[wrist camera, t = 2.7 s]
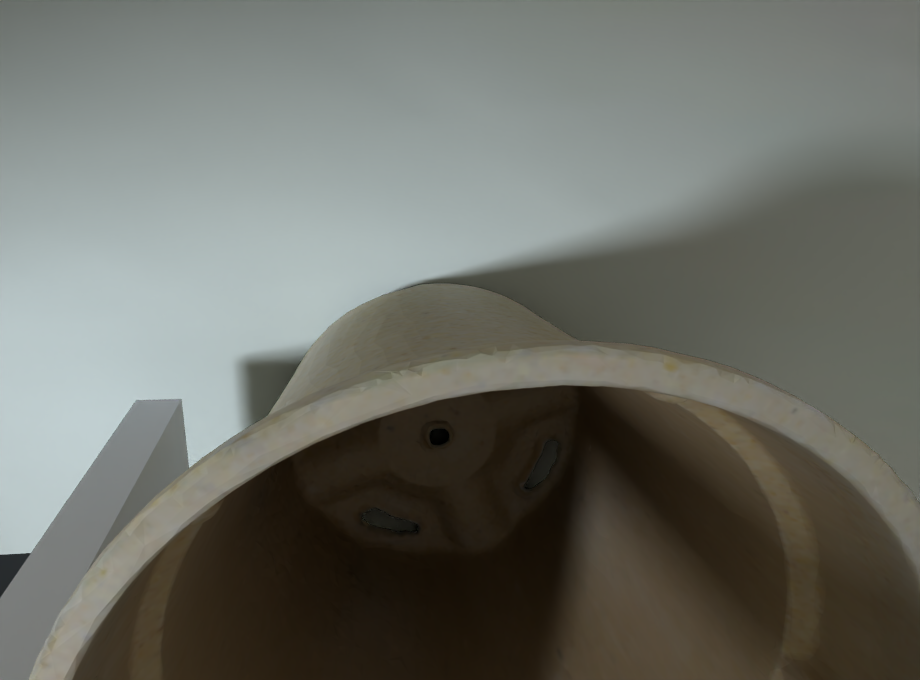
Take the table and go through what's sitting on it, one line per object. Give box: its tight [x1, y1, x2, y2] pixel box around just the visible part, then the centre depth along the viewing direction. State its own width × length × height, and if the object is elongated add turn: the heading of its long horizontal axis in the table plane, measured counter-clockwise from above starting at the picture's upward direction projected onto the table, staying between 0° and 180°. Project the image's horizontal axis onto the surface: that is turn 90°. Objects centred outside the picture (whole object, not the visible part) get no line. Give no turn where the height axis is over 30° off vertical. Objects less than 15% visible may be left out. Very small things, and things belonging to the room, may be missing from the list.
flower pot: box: [29, 283, 920, 680], centre depth 11 cm, size 9×9×9 cm
